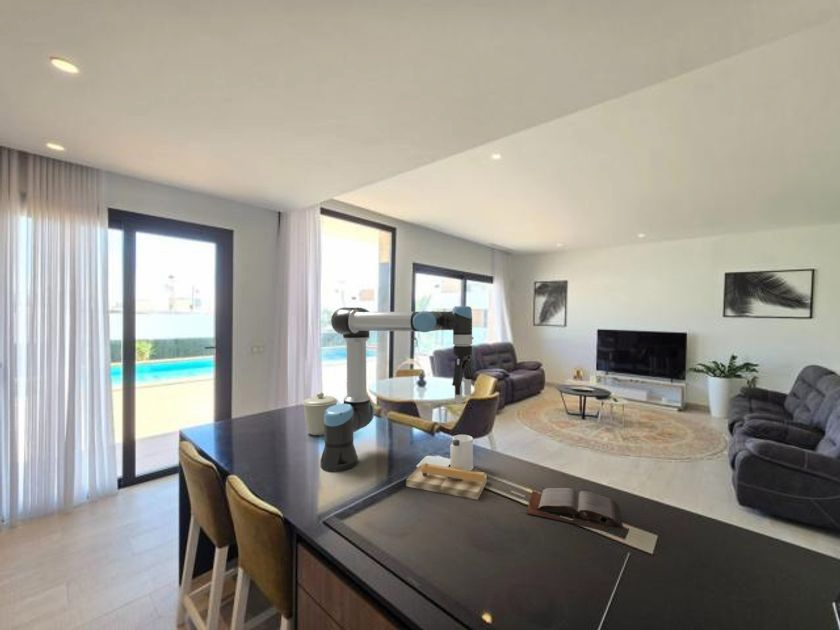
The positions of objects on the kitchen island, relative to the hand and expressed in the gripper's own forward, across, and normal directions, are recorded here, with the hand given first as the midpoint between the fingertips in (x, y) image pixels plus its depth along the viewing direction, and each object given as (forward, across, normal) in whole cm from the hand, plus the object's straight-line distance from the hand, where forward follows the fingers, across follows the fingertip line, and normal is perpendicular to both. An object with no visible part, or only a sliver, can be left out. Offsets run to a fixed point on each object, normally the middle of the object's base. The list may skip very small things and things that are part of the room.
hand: (463, 399), depth 146 cm
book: (+29, -15, -40) cm, 52 cm away
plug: (+28, -12, 0) cm, 31 cm away
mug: (+28, 0, +1) cm, 28 cm away
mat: (+28, +1, +12) cm, 31 cm away
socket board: (+28, -14, +2) cm, 31 cm away
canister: (+28, +18, +82) cm, 88 cm away
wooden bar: (+24, -16, 0) cm, 29 cm away
